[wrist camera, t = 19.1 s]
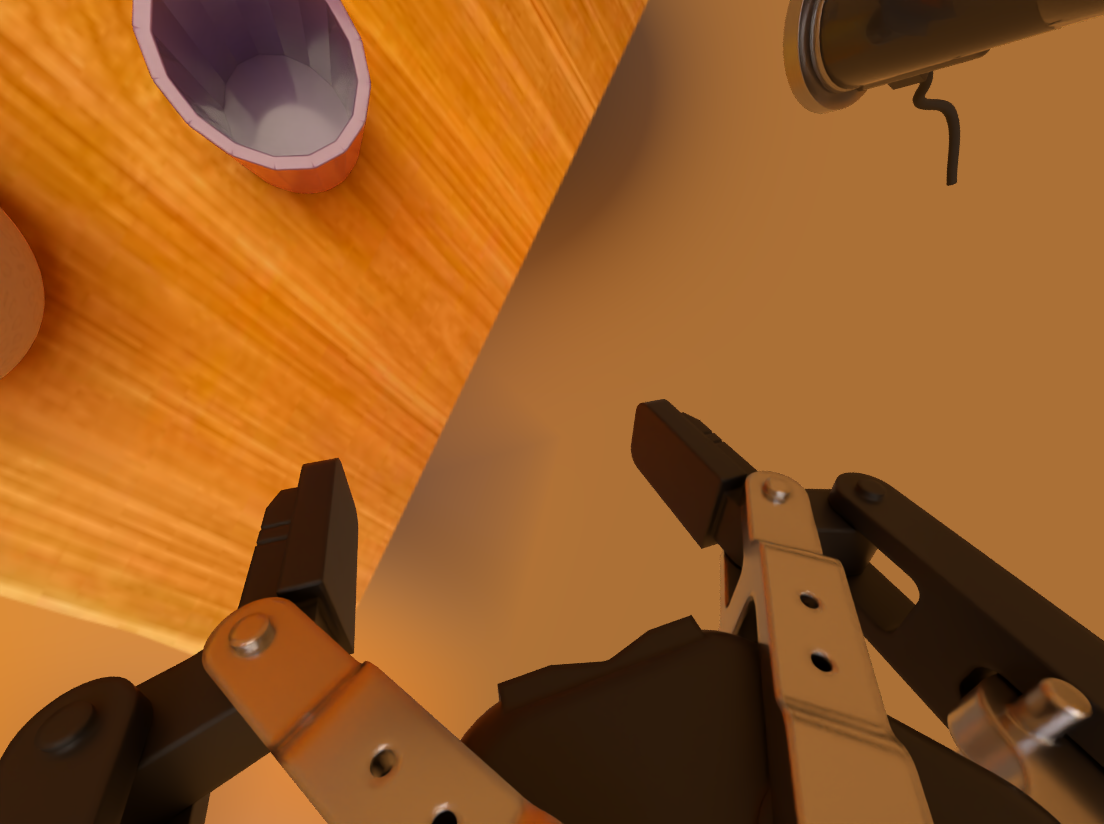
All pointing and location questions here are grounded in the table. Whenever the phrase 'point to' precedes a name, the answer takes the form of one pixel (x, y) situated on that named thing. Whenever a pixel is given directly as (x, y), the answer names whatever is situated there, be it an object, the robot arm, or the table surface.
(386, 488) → the table surface
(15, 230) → the planter
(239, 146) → the lilac cup
